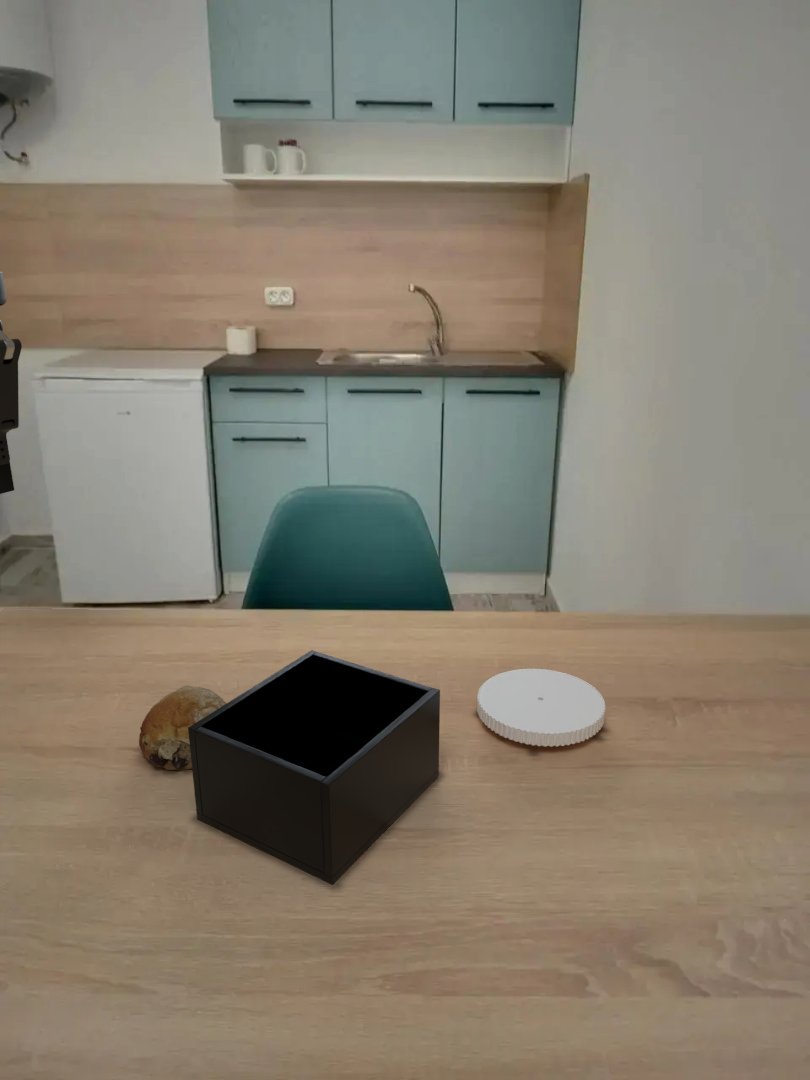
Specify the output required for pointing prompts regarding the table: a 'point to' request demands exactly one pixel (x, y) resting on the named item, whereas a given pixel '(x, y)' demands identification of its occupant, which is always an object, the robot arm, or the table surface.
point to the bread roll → (175, 726)
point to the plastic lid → (541, 707)
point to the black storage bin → (316, 761)
